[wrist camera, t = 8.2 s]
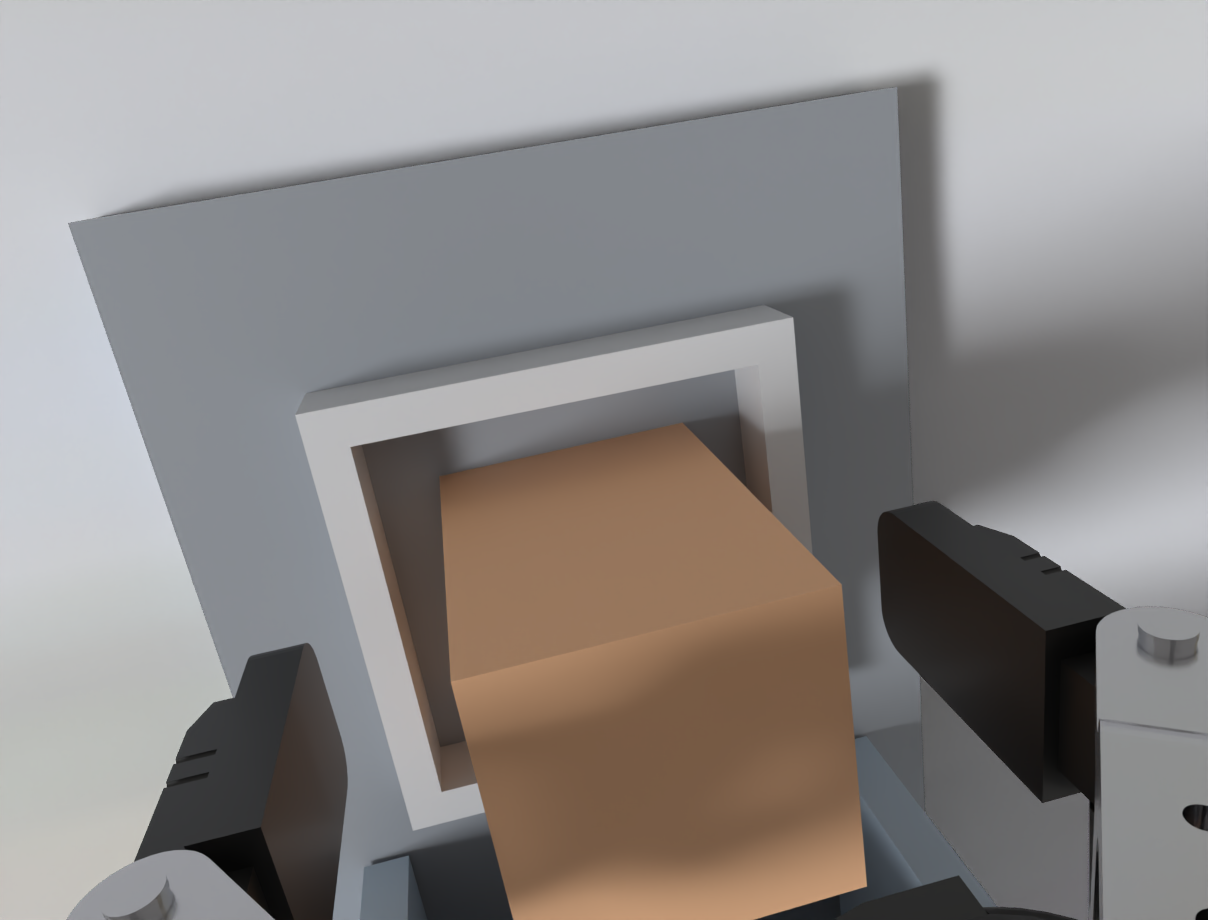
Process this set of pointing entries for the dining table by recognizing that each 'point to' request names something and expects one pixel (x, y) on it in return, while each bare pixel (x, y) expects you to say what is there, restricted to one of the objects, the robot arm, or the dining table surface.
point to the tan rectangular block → (649, 686)
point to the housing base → (512, 405)
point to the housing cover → (893, 864)
